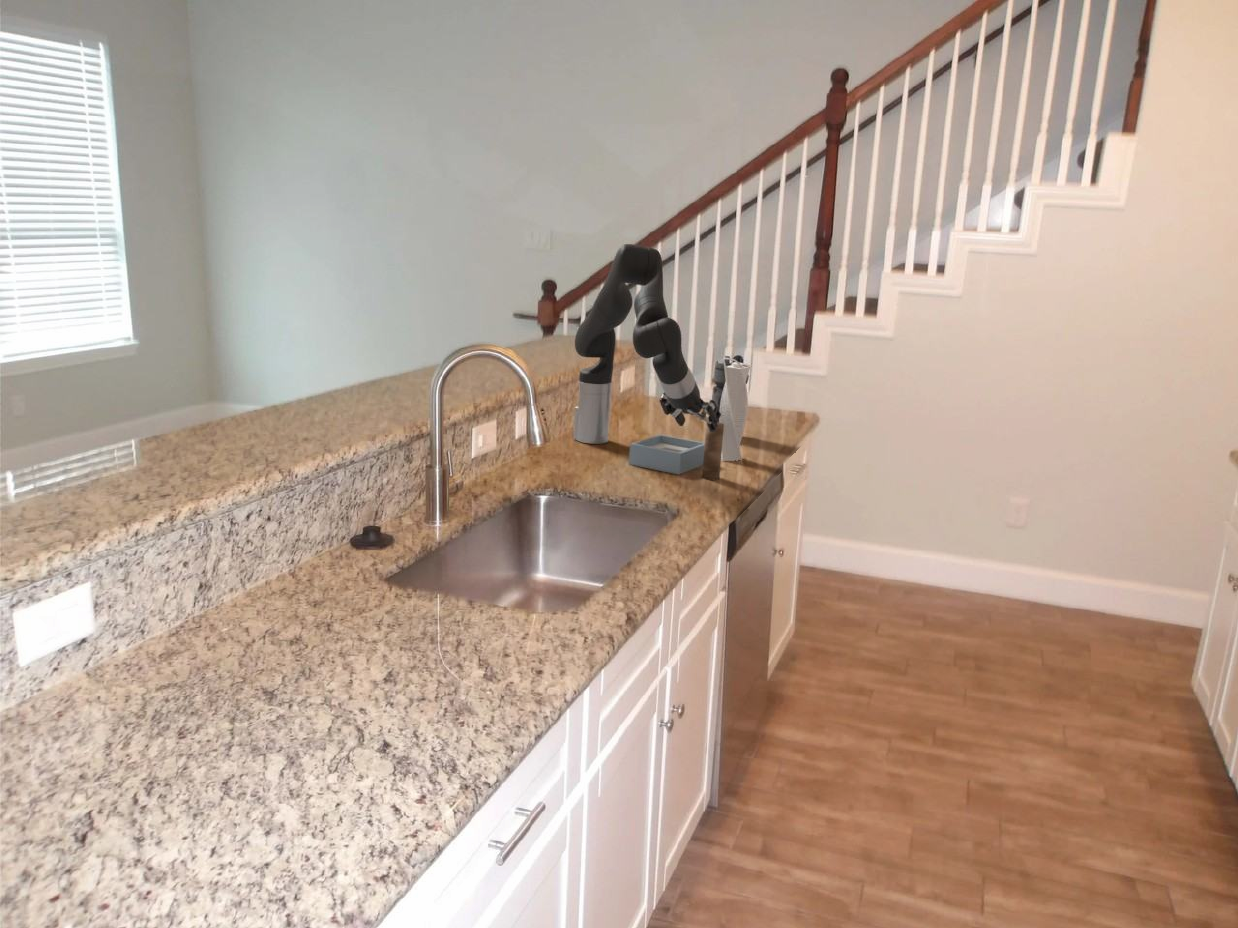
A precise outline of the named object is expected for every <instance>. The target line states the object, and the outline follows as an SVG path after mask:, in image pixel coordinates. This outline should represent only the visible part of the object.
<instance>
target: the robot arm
mask: <svg viewBox="0 0 1238 928" xmlns="http://www.w3.org/2000/svg"><path fill="white" fill-rule="evenodd" d="M663 269H664V268H663V260H662V255H661V253H660V251H659V250H658V249H656V248H653V247H649V246H643V245H640V244H639V245H638V244H631V243H625V244H623V245H621V246H620V247H619V248H618V250H617V252H616V254H615V256H614V259H613V261H612V264H611V268H610V270H609V272H608V275H607V278H606V280H605V282H604V284H603V286H602V287H601V289H600V291H599V292H598V295H597V296H596V298H595V301H594V303H593V306H592V307H591V309H590V311H589V313H588V314H587V316H586V317H585V318H584V320H582V322H581V323H580V325H579V327H578V328H577V331H576V334H575V338H574V349H575V351H576V353H577V354H578V355H579V356H580V357H583V358H594V359H595V358H599V359H598V361H596V363H594V364H593V365H591V366H589V367H586V368H583V369H581V370H580V371H579V377H578V398H577V399H578V400H577V406H575V407H574V419H573V440H576V441H577V442H580V443H584V444H593V445H599V444H605V443H606V444H607V443H608V442H609V437H610V436H609V435H610V434H609V433H610V432H609V431H610V418H611V417H610V416H611V415H610V414H611V398H612V397H611V396H612V381H613V379H612V378H613V371H614V361H615V360H614V359H615V350H616V342H617V341H616V331H615V329H616V328H617V327H618V326H620V325H621V324H623V323H624V322H625V320H626V319H627V317H628V315H629V313H630V312H631V310H632V307H633V308H634V314H635V318H636V321H635V324H634V327H633V332H632V344H633V345H632V346H633V348H634V350H635V352H636V354H637V355H638V356H639V357H641V358H644V359H651V358H652V366H653V370H654V371H655V373H656V375H657V377H658V379H659V382H660V386H661V388H662V390H663V393H662V395H661V397H660V399H659V403H660V406H661V408H662V411H663V413H664V414H665V415H666V416H668V415H671V417H672V418H674V420H675V422H676V423H677V424H678V426H679V427H683V426H684V424H685V422H686V418H685V415H692V416H695V418H697V419H699V420H703V421H704V422H705V423H707V425H708V427H709V429H710V431H711V432H714V431H715V430H716V428H717V426H718V424H717V423H718V420H719V418H720V416H721V413H720V411H719V409H718V407H717V405H716V403H715V401H713V400H712V399H710V400H709V402H707V401H704V400H703V399H702V397H701V392H700V389H699V386H698V383H697V381H696V380H695V379H696V378H694V375H693V373H692V371H691V369H690V368H689V366H688V364H687V362H686V360H685V358H684V355H683V350H682V349H683V348H682V332H681V327H680V325H679V323H678V322H677V321H676V320H675V319H673V318H670V317H669V313H668V310H667V307H666V303H665V300H664V299H665V298H664V275H663V274H664V272H663ZM627 284H631V285H637V286H643V287H642V288H641V289H640V290H639V291H638V292H637V294H636V295H635V298H634V303H633V296H632V293H631V290H630V289H629V287H628V286H627ZM700 412H701V413H700ZM684 414H685V415H684ZM707 415H708V416H707Z"/></svg>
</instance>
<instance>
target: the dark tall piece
mask: <svg viewBox="0 0 1238 928" xmlns="http://www.w3.org/2000/svg"><path fill="white" fill-rule="evenodd" d="M724 358H731V356H730V355H729V356H728V355H725V356H724ZM732 359H735V360H737V361H738V362H739V363H744V359H743V356H742V355H741V354H739V355H738V354H736V355H734V356H733V357H732ZM730 361H732V360H725V365H726V366H730V365H732V363H733V362H735V361H732V362H730ZM743 366H745V365H743ZM745 367H748V366H745ZM749 378H750V376H749V374H748V376H747V379H746V385H747V384H748V381H749ZM713 382H714V383H715V385H714V386H713V387H712V393H711V394H712V396H711V400H713V401H715V403H716V405H717V407H718V409H719V411H720V403H721V397H722V393H723V389H724V385H725V382H726V378H725V368H724V363H723V362H719V360H718V361H715V363H714V371H713ZM718 423H719V420H718Z"/></svg>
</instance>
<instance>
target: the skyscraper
mask: <svg viewBox="0 0 1238 928" xmlns="http://www.w3.org/2000/svg"><path fill="white" fill-rule="evenodd" d="M732 358H733V357H732ZM732 358H731V357H730V358H725V357H723V358H722V363H724V368H725V378H726V382H725V385H724V389H723V393H722V397H721V403H720V413H721V416H720V418H719V423H723V424H724V431H723V442H722V454H721V459H722V460H721V461H722V462H739V461H738V460H741V461H740V462H743V459H742V454H741V451H740V445H741V442H742V439H743V435H744V431H745V428H746V423H747V419H748V418H747V416H748V406H749V399H748V388H747V384H746V379H747V376H748V375H749V373H750V369H751V366H750V364H749V363H748V364H747V363H744V362H743V363H739V362H738V361H737V360H735V359H732ZM725 360H730V361H731V360H732V362H733V361H735V362H733V363H732V362H731V363H732V365H730V366H726V365H725ZM743 365H745V366H748V367H745V366H743ZM735 460H736V461H735Z"/></svg>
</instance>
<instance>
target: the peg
mask: <svg viewBox="0 0 1238 928" xmlns="http://www.w3.org/2000/svg"><path fill="white" fill-rule="evenodd" d="M705 423H706V425H705V438H704V443H705V447H704V459H703V465H702V471H701V473H702V474H701V478H702V479H704V480H707V481H708V480H709V481H717V480H720V476H721V475H720V473H721V465H722V464H721V463H722V460H721V454H722V442H723V431H724V424H723V423H717V424H718V426H717V428H716V430H715V431H714V432H711V431H710V429H709V427H708V425H707V422H705Z"/></svg>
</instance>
